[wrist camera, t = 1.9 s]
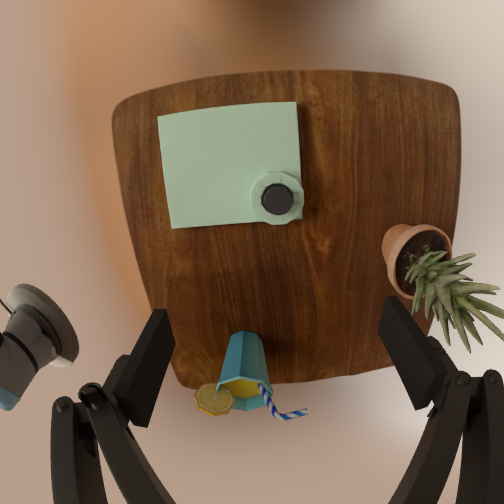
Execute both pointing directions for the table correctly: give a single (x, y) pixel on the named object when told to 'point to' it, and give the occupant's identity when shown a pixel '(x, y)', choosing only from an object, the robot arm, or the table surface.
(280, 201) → the tare button
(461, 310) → the potted plant
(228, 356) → the cup
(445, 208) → the table surface
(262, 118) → the scale
